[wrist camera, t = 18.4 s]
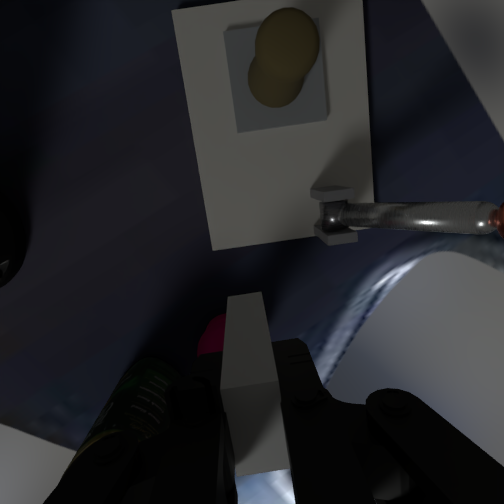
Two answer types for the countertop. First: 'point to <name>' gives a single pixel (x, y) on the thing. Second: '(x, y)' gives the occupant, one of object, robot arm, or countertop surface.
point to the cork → (283, 56)
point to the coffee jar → (134, 404)
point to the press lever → (414, 216)
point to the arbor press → (276, 123)
